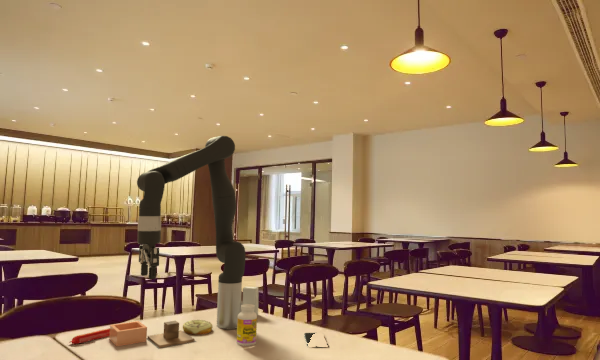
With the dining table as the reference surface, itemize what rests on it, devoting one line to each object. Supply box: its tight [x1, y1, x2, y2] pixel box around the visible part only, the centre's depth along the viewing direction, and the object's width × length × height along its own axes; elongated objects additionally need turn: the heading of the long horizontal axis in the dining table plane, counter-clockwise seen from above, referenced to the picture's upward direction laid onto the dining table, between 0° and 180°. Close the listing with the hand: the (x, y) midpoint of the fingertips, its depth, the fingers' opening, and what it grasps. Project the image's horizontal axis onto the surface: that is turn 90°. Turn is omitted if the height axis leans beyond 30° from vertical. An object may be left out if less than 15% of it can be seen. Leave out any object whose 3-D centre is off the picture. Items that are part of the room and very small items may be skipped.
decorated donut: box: [182, 319, 214, 335], centre depth 149 cm, size 10×11×4 cm
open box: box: [108, 320, 148, 347], centre depth 136 cm, size 10×10×5 cm
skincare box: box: [242, 285, 259, 316], centre depth 175 cm, size 6×4×12 cm
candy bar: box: [69, 327, 110, 345], centre depth 137 cm, size 16×4×3 cm, turn 145°
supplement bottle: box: [236, 304, 258, 347], centre depth 137 cm, size 7×7×13 cm
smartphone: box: [304, 332, 316, 347], centre depth 141 cm, size 7×1×15 cm
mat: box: [146, 337, 197, 350], centre depth 137 cm, size 13×13×1 cm
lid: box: [147, 320, 196, 349], centre depth 138 cm, size 12×12×6 cm
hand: (148, 277), depth 136 cm, fingers open, 8 cm apart
